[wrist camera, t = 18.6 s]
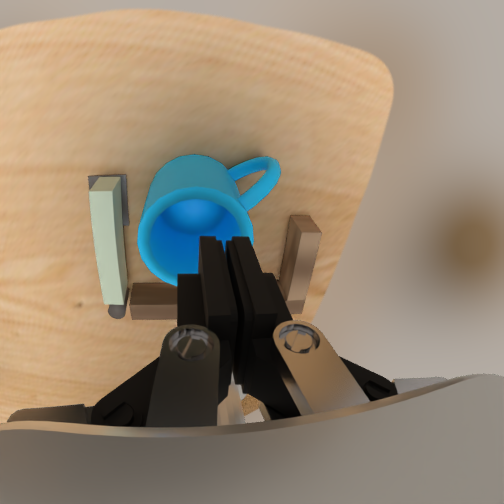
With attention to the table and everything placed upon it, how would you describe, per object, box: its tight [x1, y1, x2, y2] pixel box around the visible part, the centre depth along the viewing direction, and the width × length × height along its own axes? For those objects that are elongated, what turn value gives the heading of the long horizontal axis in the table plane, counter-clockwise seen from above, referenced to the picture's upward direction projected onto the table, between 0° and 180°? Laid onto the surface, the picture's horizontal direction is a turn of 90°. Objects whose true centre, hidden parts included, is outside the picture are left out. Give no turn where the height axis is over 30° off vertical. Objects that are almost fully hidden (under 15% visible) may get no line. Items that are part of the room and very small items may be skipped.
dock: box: [88, 174, 322, 320], centre depth 29 cm, size 14×21×4 cm, turn 84°
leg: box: [89, 177, 128, 305], centre depth 27 cm, size 12×2×4 cm, turn 172°
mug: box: [137, 154, 281, 286], centre depth 25 cm, size 12×8×8 cm
